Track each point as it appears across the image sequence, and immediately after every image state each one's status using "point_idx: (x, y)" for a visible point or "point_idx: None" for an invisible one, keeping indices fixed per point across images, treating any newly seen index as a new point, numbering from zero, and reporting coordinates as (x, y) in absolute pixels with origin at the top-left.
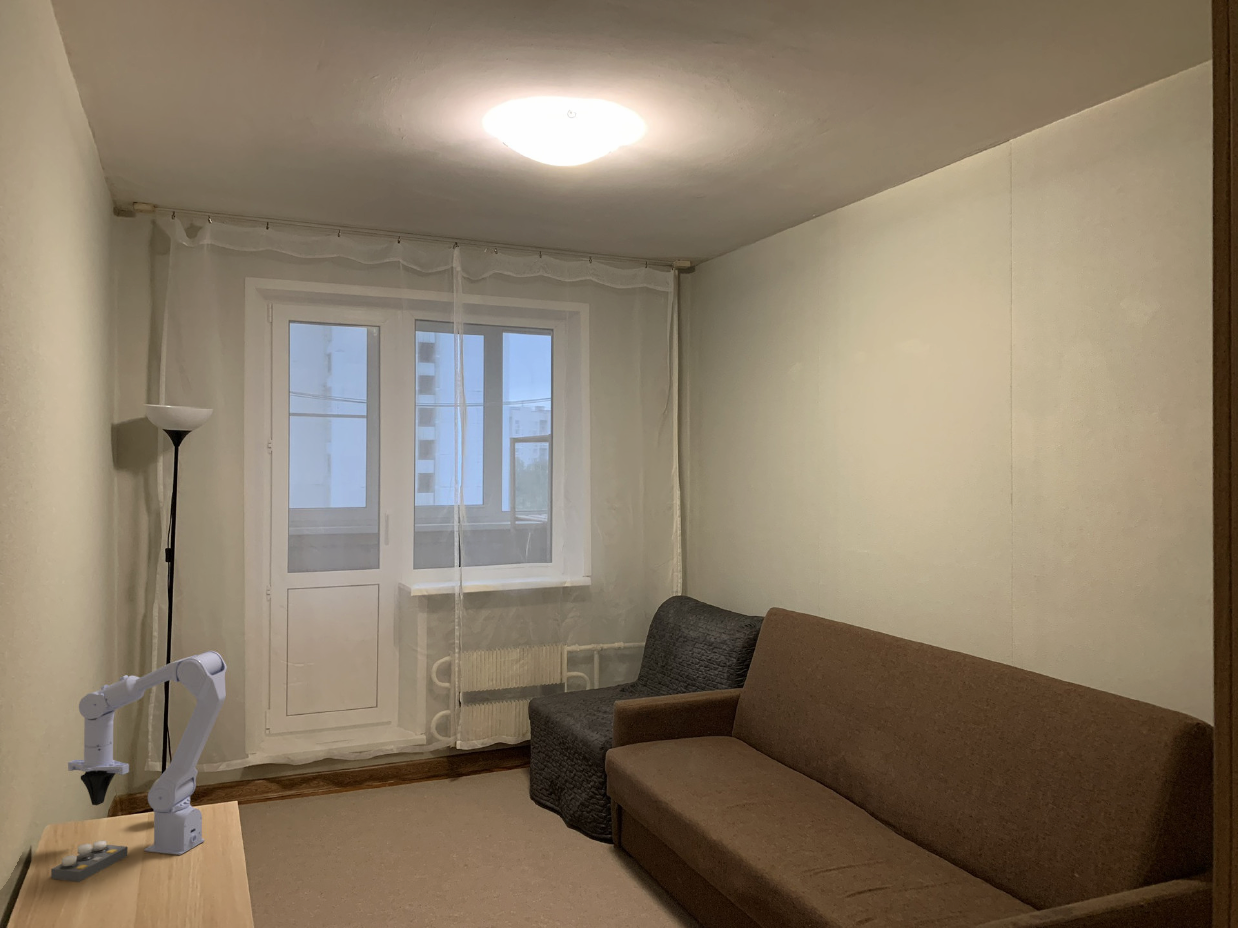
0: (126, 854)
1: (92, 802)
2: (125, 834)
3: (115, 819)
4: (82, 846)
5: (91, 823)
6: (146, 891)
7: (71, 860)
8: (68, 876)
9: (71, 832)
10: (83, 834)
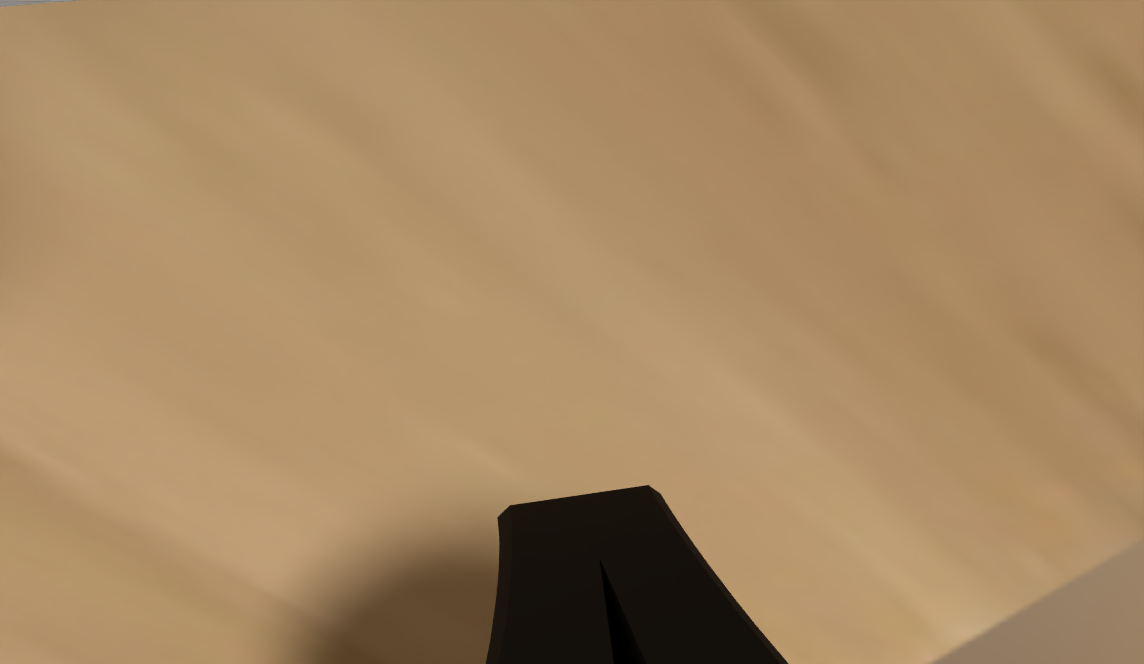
0: None
1: (635, 524)
2: (438, 479)
3: (864, 656)
4: None
5: (1037, 531)
6: None
7: None
8: None
9: (1102, 322)
10: (926, 328)
